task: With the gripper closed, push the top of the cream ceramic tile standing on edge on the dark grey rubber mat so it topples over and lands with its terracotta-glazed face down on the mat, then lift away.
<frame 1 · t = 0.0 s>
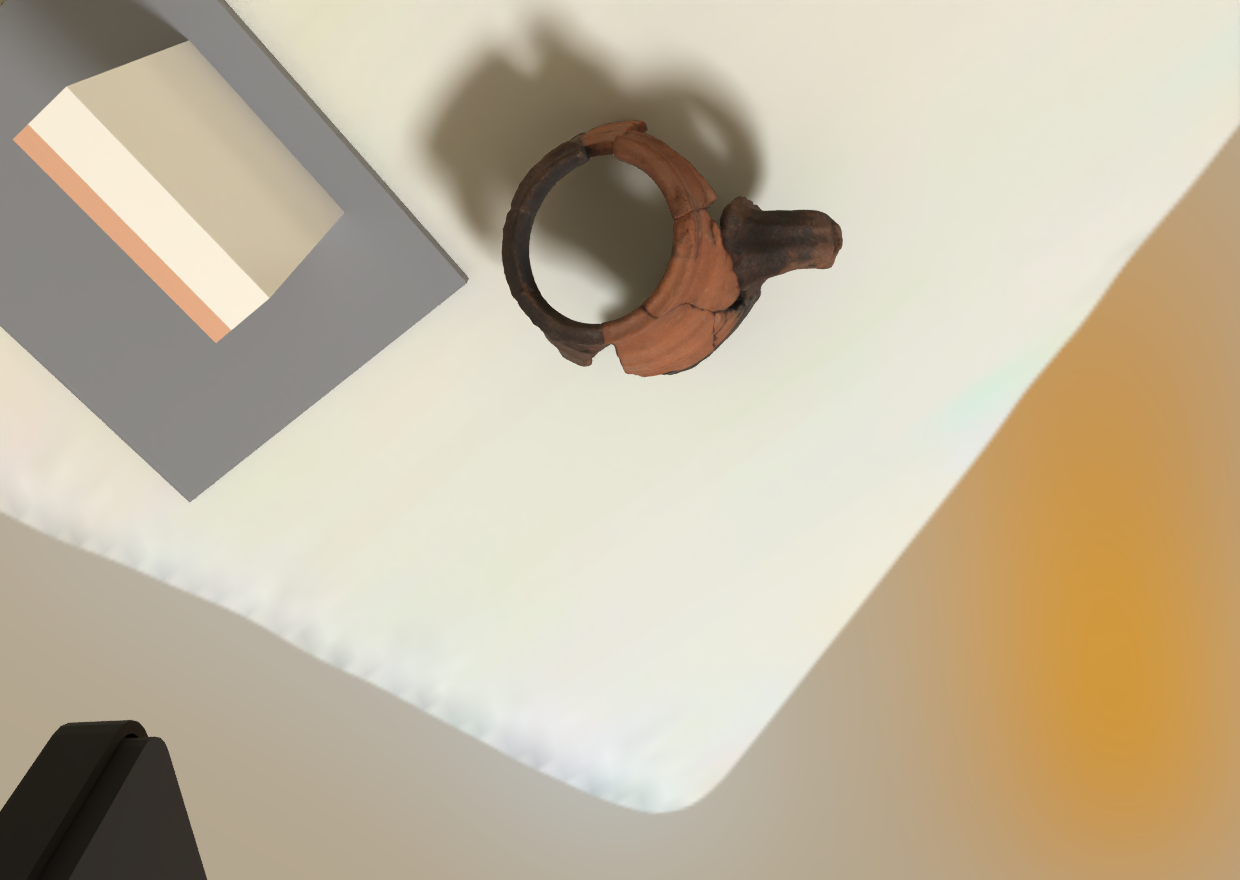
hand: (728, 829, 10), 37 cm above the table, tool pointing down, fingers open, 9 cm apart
tile: (246, 149, 44), point 1 cm above the table, touching mat
mat: (162, 225, 46), on the table
broken clay vessel: (671, 234, 46), on the table
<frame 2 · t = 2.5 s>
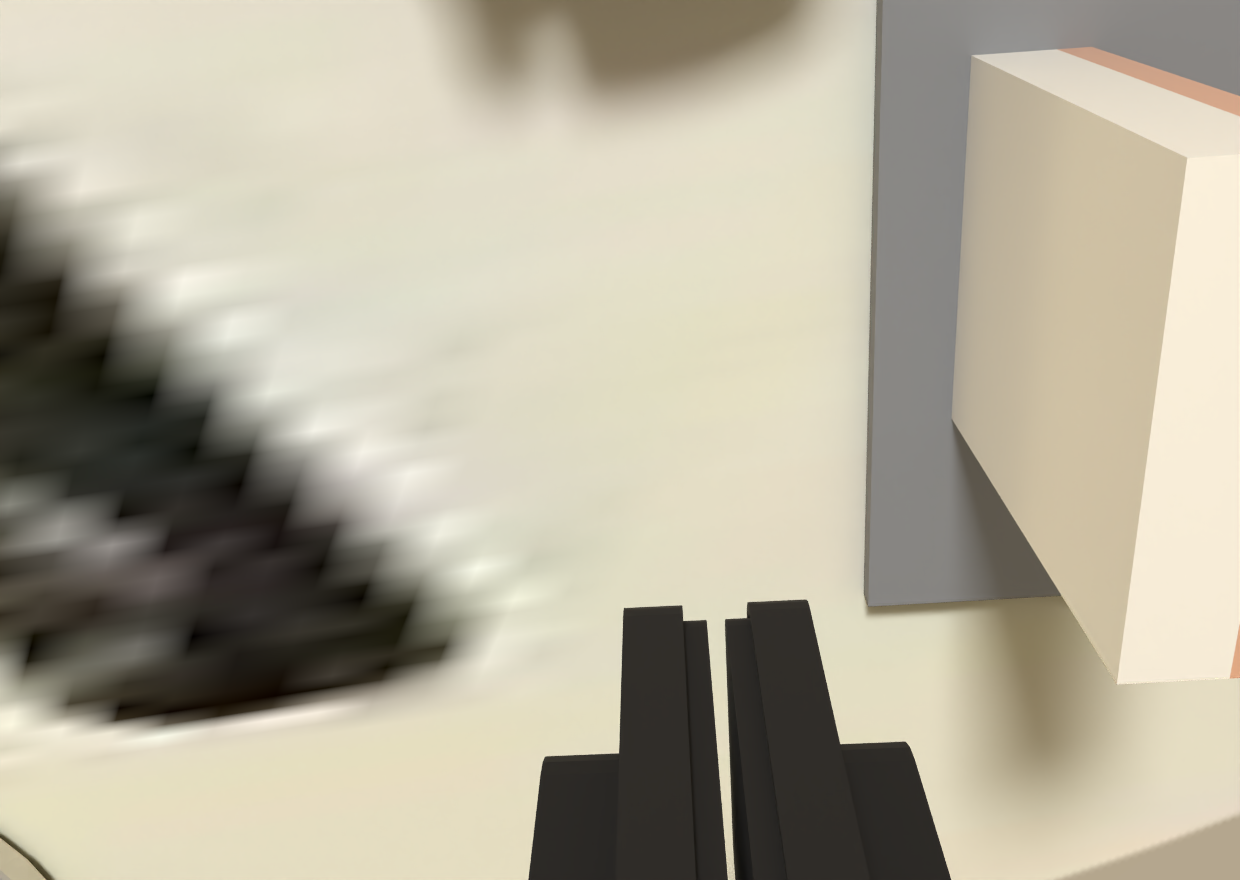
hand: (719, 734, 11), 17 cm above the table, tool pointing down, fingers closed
tile: (1016, 245, 25), point 1 cm above the table, touching mat
mat: (1239, 222, 26), on the table
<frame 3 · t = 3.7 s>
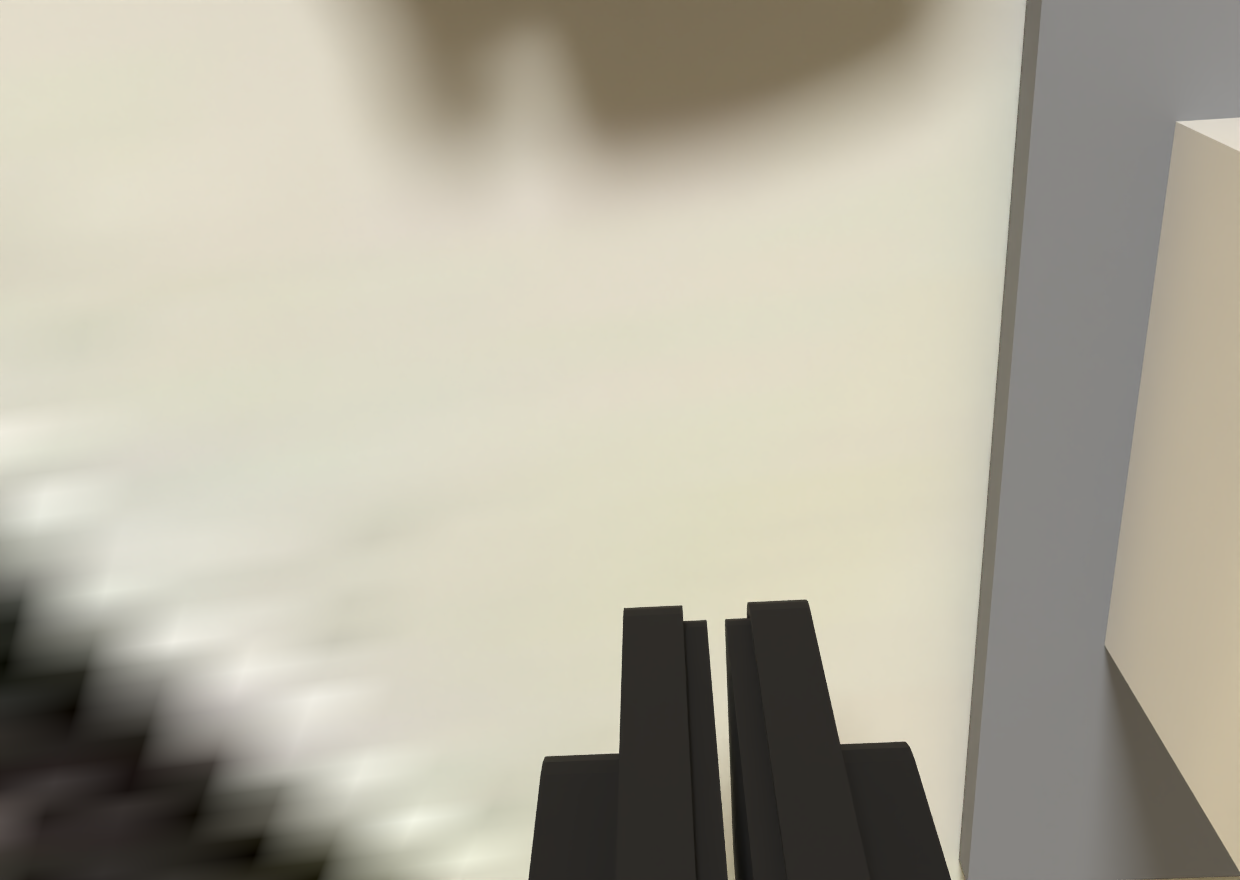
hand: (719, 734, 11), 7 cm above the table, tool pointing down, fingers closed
tile: (1223, 406, 16), point 1 cm above the table, touching mat
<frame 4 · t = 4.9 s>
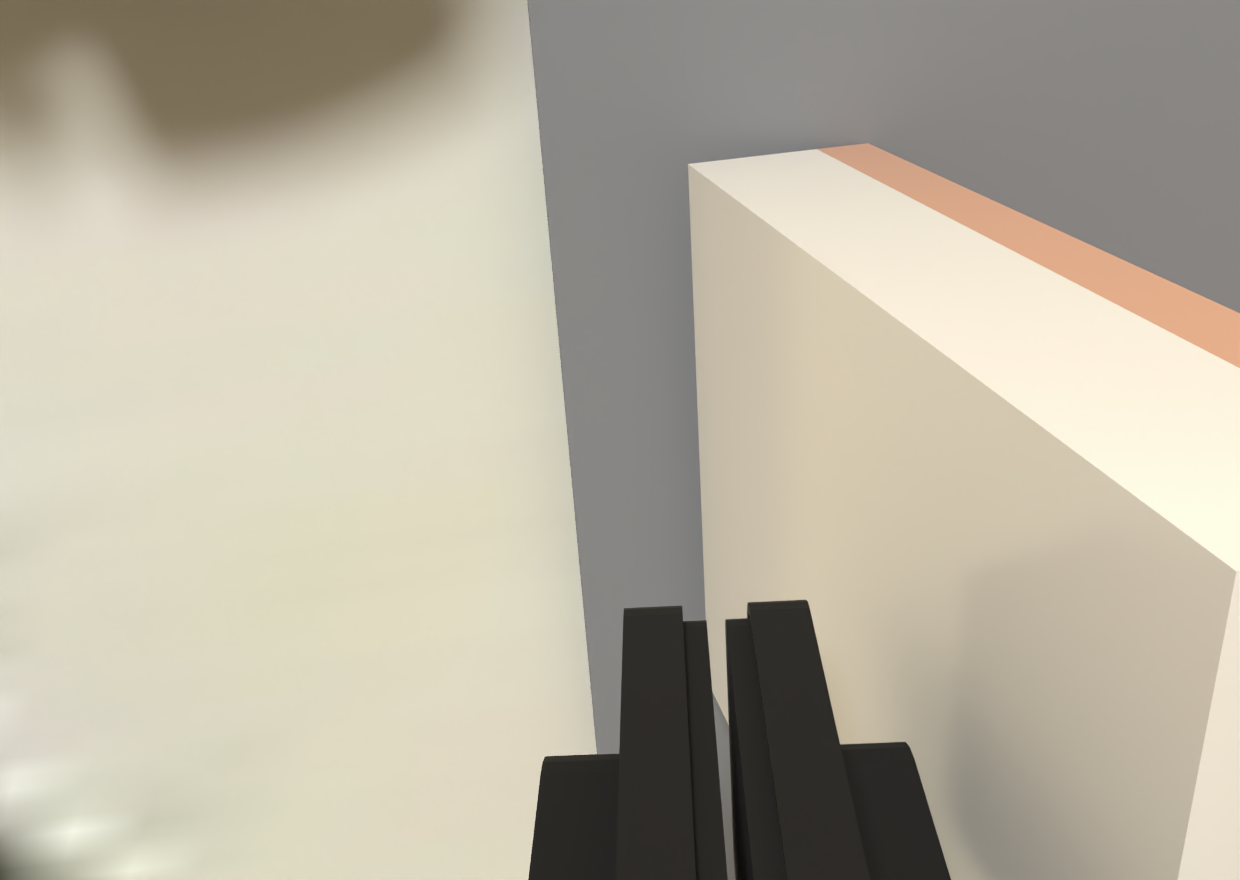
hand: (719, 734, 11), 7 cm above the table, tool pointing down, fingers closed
tile: (780, 437, 17), point 1 cm above the table, tilted 14°, touching mat
mat: (1114, 394, 17), on the table
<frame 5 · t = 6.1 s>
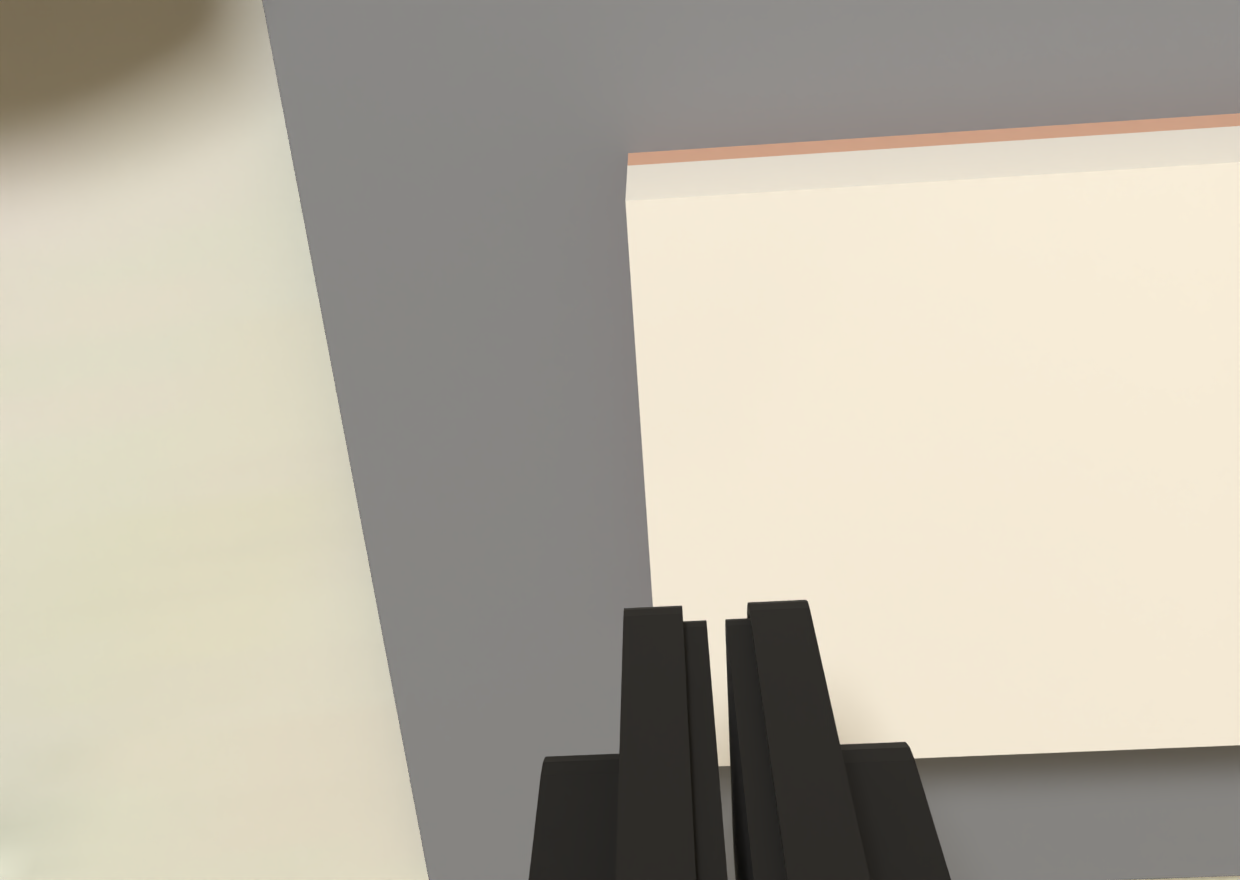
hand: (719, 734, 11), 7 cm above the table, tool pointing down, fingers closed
tile: (646, 473, 16), point 2 cm above the table, tilted 90°, touching mat
mat: (898, 403, 17), on the table
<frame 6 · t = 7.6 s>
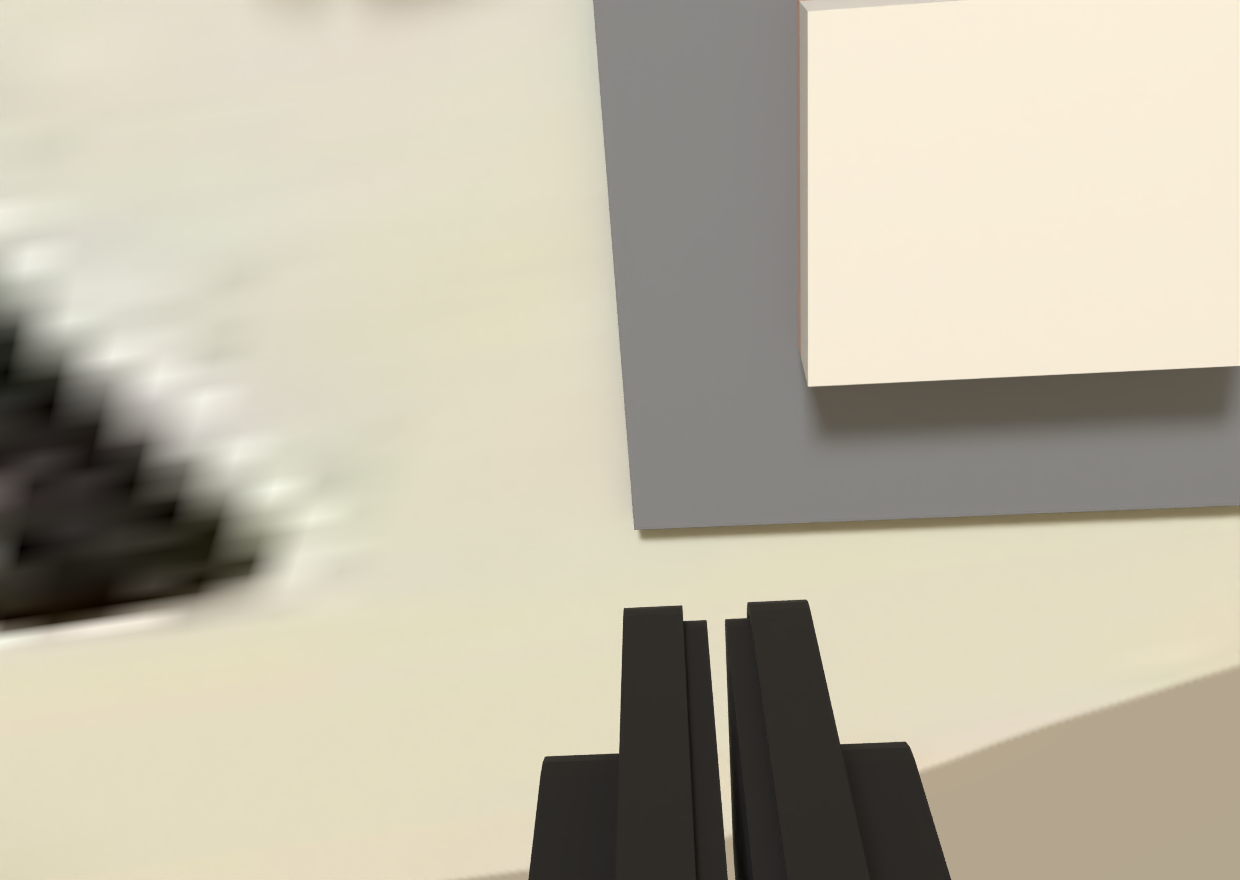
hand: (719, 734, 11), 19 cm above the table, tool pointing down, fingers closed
tile: (802, 197, 26), point 2 cm above the table, tilted 90°, touching mat
mat: (955, 166, 27), on the table
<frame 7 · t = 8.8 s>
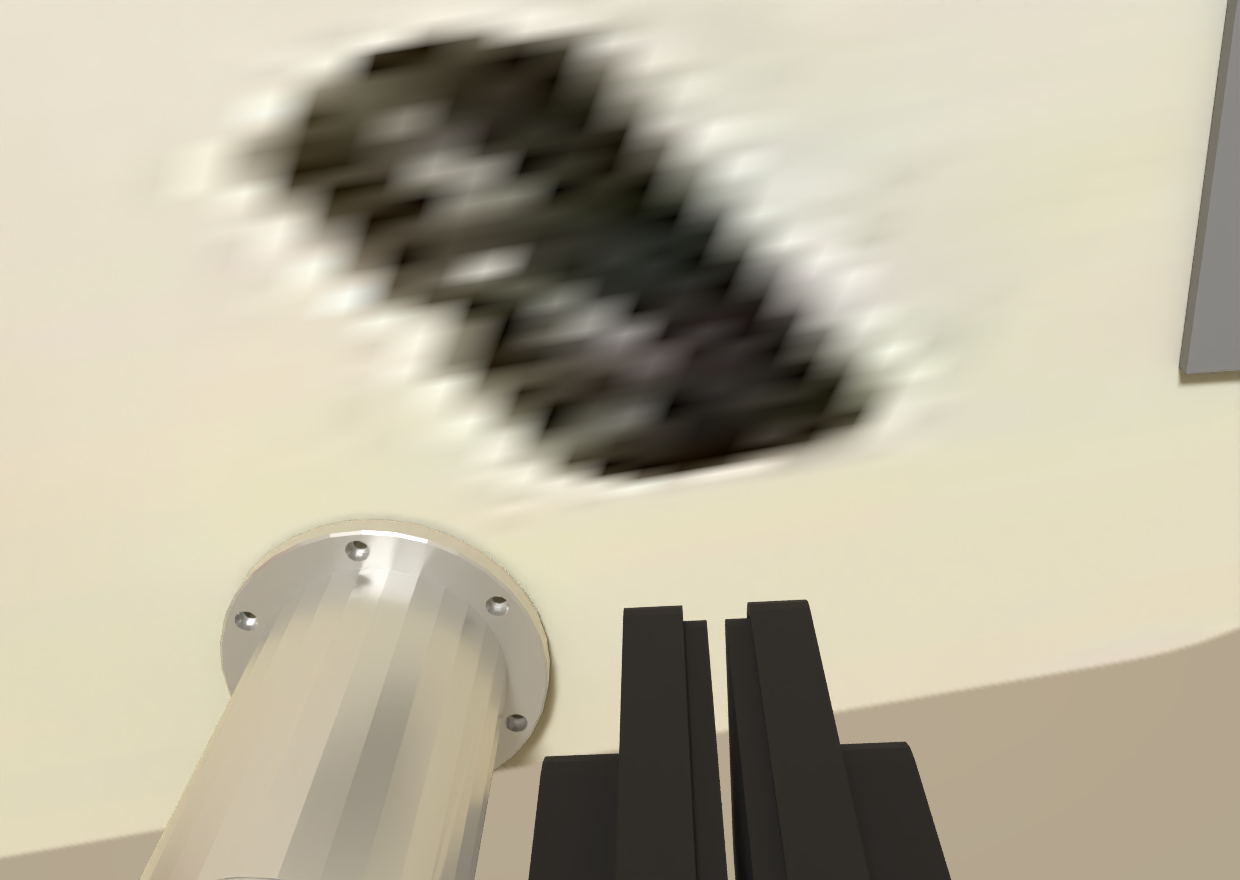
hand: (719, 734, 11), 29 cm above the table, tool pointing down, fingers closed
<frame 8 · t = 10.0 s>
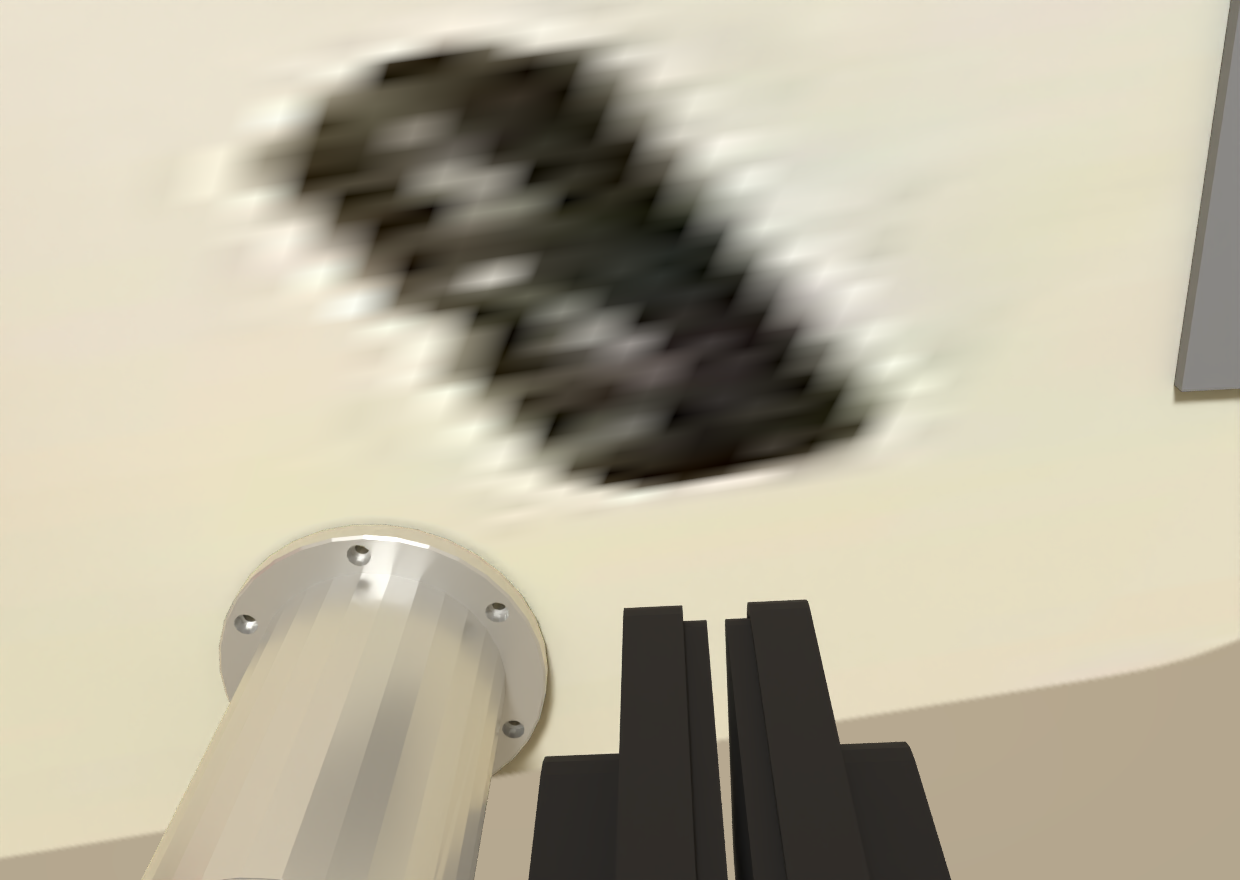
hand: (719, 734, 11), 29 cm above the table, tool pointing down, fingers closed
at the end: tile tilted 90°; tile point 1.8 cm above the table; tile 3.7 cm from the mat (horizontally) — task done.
